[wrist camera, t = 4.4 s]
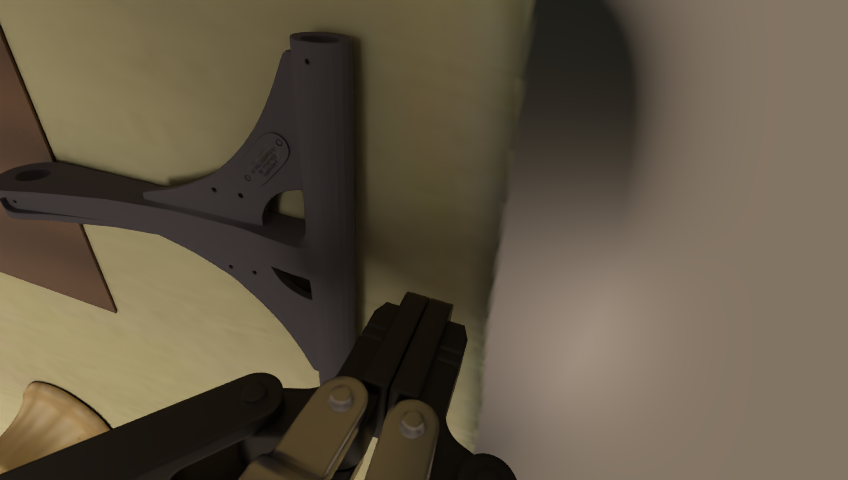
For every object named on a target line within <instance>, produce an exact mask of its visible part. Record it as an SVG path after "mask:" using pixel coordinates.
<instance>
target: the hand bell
mask: <svg viewBox="0 0 848 480" xmlns="http://www.w3.org/2000/svg"><path fill="white" fill-rule="evenodd" d="M109 430H110V429H109V428H108V427H107V425H106V424H105V423H104V421H103V420H102V419H100V417H99V416H98V415H97V414H95V413H94V412H93V411H92V410H90V409H89V408H88V407H87V406H86V405H84V404H83V403H81V402H80V401H79V400H77V399H76V398H74V397H73V396H71V395H70V394H68V393H66V392H64V391H63V390H61V389H59V388H57V387H54V386H52V385H49V384H45V383H40V382H33V383H30V384H29V385H28V386H27V388H26V390H25V391H24V394H23V402H22V405H21V408H20V410H19V412H18V414H17V416H16V417H15V419H14V421H13V422H12V423H11V425H10V426H9V427H8V429H7V430H6V431H5V432H4V433H3V434H2V435H1V437H0V474H2V473H4V472H7V471H9V470H12V469H14V468H17V467H19V466H22V465H24V464H27V463H29V462H32V461H34V460H37V459H39V458H42V457H44V456H47V455H49V454H52V453H54V452H56V451H59V450H61V449H64V448H66V447H69V446H71V445H74V444H76V443H79V442H81V441H84V440H86V439H89V438H91V437H94V436H96V435H99V434H101V433H104V432H106V431H109Z"/></svg>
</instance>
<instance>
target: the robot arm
mask: <svg viewBox="0 0 848 480" xmlns="http://www.w3.org/2000/svg"><path fill="white" fill-rule="evenodd" d="M452 311H453V304H450V303H446V302H443V301H440V300H436V299H433V298H431V299H430V298H429V297H426V296H423V295H419V294H416V293H413V292H409V291H408V292H407V293H406V294H405V296H404V298H403V300H402V302H401V304H400V306H398V305H395V304H392V303H389V302H387V303H385V304H384V305H383V306H381V307H380V308H378V309H377V310H375V311H374V313H373V315H372V317H371V318H370V320H369V322H368V324H367V326H366V327H365V328H364V330H363V332H362V334H361V336H360V337H359V338H358V340H357V342H356V344H355V345H354V347H353V349H352V350H351V352H350V354H349V355H348V357H347V359H346V360H345V362H344V364H343V366H342V367H341V369H340V371H339V372H338V374H337V375H336V376H335V377H333V378H331V379H328V380H327V381H325V382H324V383H322V384H321V385H320V386H319V387H316V388H310V389H297V388H283V386H282V383H281V382H280V380H279V379H278V378H277V377H275V376H274V375H271V374H268V373H253V374H249V375H246V376H244V377H241V378H239V379H236V380H234V381H231V382H229V383H226V384H224V385H221V386H219V387H216V388H214V389H211V390H209V391H206V392H204V393H201V394H199V395H196V396H194V397H191V398H189V399H186V400H184V401H181V402H179V403H176V404H174V405H171V406H169V407H166V408H164V409H161V410H159V411H156V412H154V413H151V414H149V415H146V416H144V417H141V418H139V419H136V420H134V421H131V422H129V423H126V424H124V425H121V426H119V427H116V428H114V429H111V430H109V431H106V432H104V433H101V434H99V435H96V436H94V437H91V438H89V439H86V440H84V441H81V442H79V443H76V444H74V445H71V446H69V447H66V448H64V449H61V450H59V451H56V452H54V453H52V454H49V455H47V456H44V457H42V458H39V459H37V460H34V461H32V462H29V463H27V464H24V465H22V466H19V467H17V468H14V469H12V470H9V471H7V472H4V473H2V474H0V480H354V478H355V477H356V475H357V473H358V471H359V469H360V467H361V465H362V463H363V460H364V455H365V453H366V451H367V449H368V446H369V444H370V442H371V440H372V437H376V438H378V441H377V444H376V447H375V450H374V453H373V456H372V459H371V462H370V465H369V468H368V470H367V473H366V476H365V479H364V480H517V479H516V477H515V475H514V473H513V472H512V470H511V469H510V467H509V466H508V465H507V464H506V463H505V462H504V461H502V460H501V459H500V458H498V457H495V456H493V455H490V454H485V453H481V454H475V455H474V454H472V453H471V452H470V451H468V450H467V449H466V448H465V447H463V446H462V445H461V444H460V443H458V442H457V441H456V440H455V438H454V437H453V436H452V434H451V433H450V431H449V429H448V426H447V423H446V415H447V412H448V409H449V405H450V402H451V398H452V395H453V392H454V388H455V385H456V382H457V378H458V375H459V372H460V368H461V364H462V360H463V356H464V352H465V348H466V344H467V340H468V339H467V335H466V330H465V326H464V325H461V324H457V323H454V322H451V321H450V320H451V315H452Z"/></svg>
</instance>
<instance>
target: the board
mask: <svg viewBox="0 0 848 480" xmlns="http://www.w3.org/2000/svg"><path fill="white" fill-rule="evenodd" d="M41 162H55V160H54V157H53V155H52V152H51V150H50V147H49V145H48V143H47V140H46V138H45V135H44V133H43V130H42V128H41V126H40V123H39V121H38V118H37V116H36V113H35V111H34V109H33V106H32V104H31V101H30V99H29V96H28V94H27V92H26V89H25V87H24V84H23V82H22V79H21V77H20V75H19V72H18V70H17V67H16V65H15V62H14V60H13V58H12V55H11V53H10V50H9V48H8V45H7V43H6V41H5V38H4V36H3V33H2V31H1V28H0V174H1V173H3V172H5V171H7V170H10V169H12V168H15V167H19V166H22V165H27V164H32V163H41ZM0 272H2V273H5V274H8V275H11V276H13V277H16V278H19V279H22V280H25V281H27V282H30V283H33V284H36V285H38V286H41V287H44V288H47V289H50V290H52V291H55V292H58V293H61V294H64V295H66V296H69V297H72V298H75V299H78V300H80V301H83V302H86V303H89V304H92V305H94V306H97V307H100V308H103V309H106V310H108V311H111V312H114V313H117V310H116V308H115V305H114V303H113V301H112V298H111V296H110V293H109V291H108V288H107V286H106V284H105V281H104V279H103V276H102V274H101V271H100V269H99V267H98V264H97V262H96V259H95V257H94V254H93V252H92V250H91V247H90V245H89V242H88V240H87V237H86V235H85V232H84V230H83V228H82V225H81V224H79V223H69V222H59V221H47V220H21V219H14V218H10V217H9V216H8V215H7V213H6V211H5V210H4V208H3V206H2V204H1V202H0Z"/></svg>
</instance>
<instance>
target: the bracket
mask: <svg viewBox="0 0 848 480" xmlns="http://www.w3.org/2000/svg"><path fill="white" fill-rule="evenodd" d="M290 47H291V50H286V51H285V52H284V53H283V54H282V57H281V60H280V63H279V67H278V70H277V73H276V77H275V80H274V83H273V86H272V89H271V92H270V95H269V97H268V100H267V102H266V105H265V107H264V110H263V112H262V114H261V116H260V118H259V120H258V122H257V124H256V126H255V127H254V129H253V131H252V132H251V134H250V135H249V137H248V138H247V140H246V141H245V143H244V144H243V145H242V147H241V148H240V149H239V150H238V151H237V152H236V154H235V155H234V156H233V157H232V158H231V159H230V160H229V161H228V162H227V163H226V164H224V165H223V166H222V167H221V168H220V169H219V170H218V171H216V172H215V173H212V174H210V175H208V176H205V177H203V178H201V179H198V180H196V181H193V182H191V183H187V184H183V185H178V186H171V187H162V186H158V185H154V184H149V183H145V182H141V181H137V180H133V179H129V178H125V177H120V176H116V175H112V174H108V173H104V172H99V171H95V170H91V169H87V168H83V167H79V166H75V165H70V164H64V163H57V162H41V163H32V164H27V165H22V166H19V167H15V168H12V169H10V170H7V171H5V172H3V173H1V174H0V202H1V204H2V206H3V208H4V210H5V211H6V213H7V215H8V216H9V217H10V218H14V219H21V220H47V221H59V222H69V223H79V224H90V225H100V226H110V227H118V228H124V229H130V230H135V231H141V232H147V233H152V234H158V235H160V236H163V237H165V238H167V239H169V240H171V241H173V242H175V243H177V244H179V245H181V246H183V247H185V248H187V249H189V250H191V251H193V252H194V253H196V254H198V255H199V256H201V257H203V258H205V259H206V260H208V261H209V262H211V263H213V264H214V265H216V266H217V267H219V268H220V269H222V270H223V271H225V272H227V273H228V274H230V275H231V276H232V277H234V278H235V279H236V280H238V281H239V282H240V283H241V284H242V285H243V286H244V287H245V288H246V289H248V290H249V291H250V292H251V293H252V294H253V295H254V296H255V297H256V298H258V299H259V300H260V301H261V302H262V303H263V304H264V305H265V306H266V307H267V308H268V309H269V310H270V311H271V312H272V313H273V314H274V315H275V316H276V318H277V319H278V320H279V321H280V322H281V323H282V324H283V326H284V327H285V328H286V329H287V330H288V332H289V333H290V334H291V336H292V337H293V338H294V339H295V341H296V342H297V344H298V345H299V347H300V348H301V350H302V351H303V353H304V354H305V356H306V357H307V359H308V361H309V362H310V364H311V365H312V367H313V368H314V369H315V370H317V371H319V378H320V385H321V384H322V383H324V382H325V381H327V380H328V379H331V378H333V377H335V376H336V375H337V374H338V372H339V371H340V369H341V367H342V366H343V364H344V362H345V360H346V359H347V357H348V355H349V354H350V352H351V350H352V349H353V347H354V345H355V344H356V290H355V208H354V125H353V43H352V39H351V38H350V37H348V36H345V35H340V34H334V33H325V32H300V33H294V34H291V35H290ZM291 190H303V196H304V208H305V221H303V220H299V219H295V218H291V217H286V216H282V215H278V214H274V213H270V212H267V209H268V206H269V204H270V201H271V200H272V198H273V197H274V196H275V195H277V194H279V193H281V192H284V191H291ZM280 270H282V271H285V272H287V273H290V274H293V275H296V276H299V277H303V278H306V279H308V280H310V284H311V291H312V294H310V293H308V292H306V291H304V290H302V289H300V288H299V287H297V286H296V285H294V284H293V283H292V282H291V281H289V280H288V279H287V278H286V277H285V276H284V274H283V273H282V272H281V271H280Z"/></svg>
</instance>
